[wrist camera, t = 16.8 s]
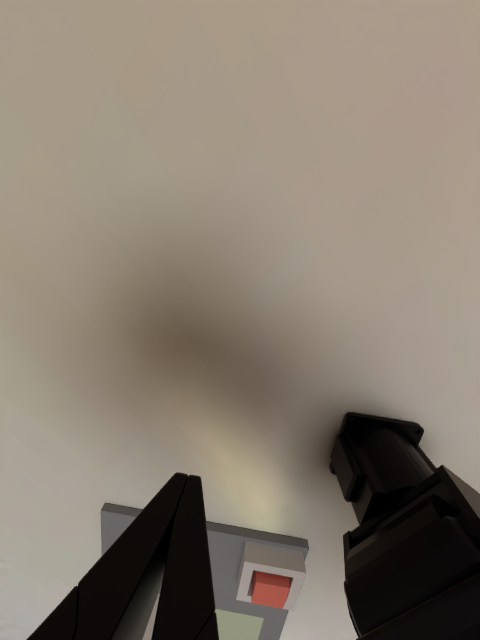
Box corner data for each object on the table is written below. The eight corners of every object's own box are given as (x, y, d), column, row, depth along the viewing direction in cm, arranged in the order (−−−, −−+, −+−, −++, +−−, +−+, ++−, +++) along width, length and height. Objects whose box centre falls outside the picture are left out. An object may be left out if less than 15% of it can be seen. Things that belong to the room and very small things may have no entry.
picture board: (307, 539, 26) (312, 570, 24) (273, 646, 32) (274, 680, 30) (105, 502, 27) (89, 529, 24) (107, 614, 33) (95, 644, 30)
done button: (287, 562, 26) (289, 588, 24) (281, 582, 27) (283, 608, 25) (256, 557, 26) (256, 582, 24) (251, 577, 27) (251, 602, 25)
